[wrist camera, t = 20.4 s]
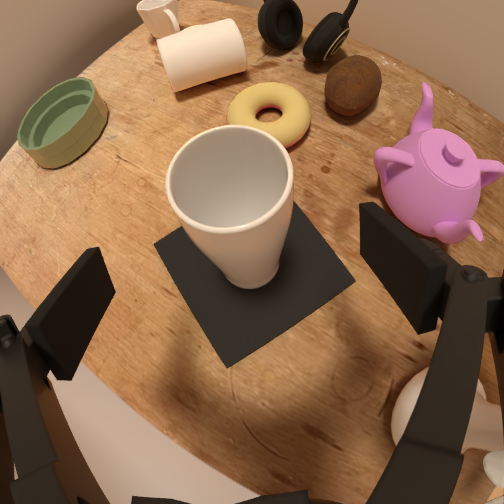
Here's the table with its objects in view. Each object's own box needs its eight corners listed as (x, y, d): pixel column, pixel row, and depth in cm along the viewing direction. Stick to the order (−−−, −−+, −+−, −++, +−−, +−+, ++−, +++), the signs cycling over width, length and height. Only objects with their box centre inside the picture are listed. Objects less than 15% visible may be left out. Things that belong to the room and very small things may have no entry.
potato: (310, 112, 36) (313, 74, 30) (339, 71, 39) (344, 36, 33) (360, 134, 35) (371, 97, 29) (383, 90, 37) (393, 56, 31)
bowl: (42, 186, 36) (21, 168, 31) (31, 134, 40) (15, 115, 36) (119, 131, 38) (104, 106, 33) (97, 87, 42) (84, 65, 37)
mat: (227, 368, 27) (226, 368, 27) (154, 245, 32) (153, 243, 32) (354, 281, 29) (355, 280, 29) (270, 174, 34) (270, 172, 33)
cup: (177, 22, 46) (168, -13, 39) (203, 41, 43) (193, 1, 36) (142, 39, 45) (130, 4, 38) (163, 59, 42) (150, 19, 35)
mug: (250, 81, 39) (244, 34, 31) (177, 104, 38) (161, 58, 31) (225, 40, 43) (218, 0, 35) (163, 59, 42) (150, 20, 35)
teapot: (436, 272, 29) (482, 241, 20) (343, 178, 33) (359, 124, 25) (485, 206, 31) (525, 168, 22) (404, 128, 35) (426, 77, 26)
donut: (223, 154, 37) (299, 168, 34) (209, 134, 33) (293, 146, 30) (251, 91, 39) (321, 99, 36) (240, 68, 34) (317, 74, 31)
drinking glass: (259, 215, 32) (245, 105, 18) (302, 269, 30) (323, 183, 15) (200, 254, 31) (142, 165, 17) (241, 313, 29) (205, 262, 15)
